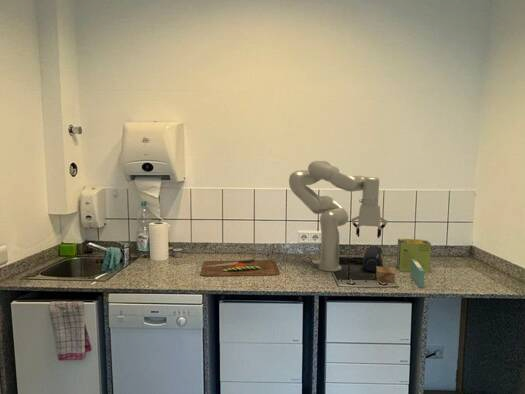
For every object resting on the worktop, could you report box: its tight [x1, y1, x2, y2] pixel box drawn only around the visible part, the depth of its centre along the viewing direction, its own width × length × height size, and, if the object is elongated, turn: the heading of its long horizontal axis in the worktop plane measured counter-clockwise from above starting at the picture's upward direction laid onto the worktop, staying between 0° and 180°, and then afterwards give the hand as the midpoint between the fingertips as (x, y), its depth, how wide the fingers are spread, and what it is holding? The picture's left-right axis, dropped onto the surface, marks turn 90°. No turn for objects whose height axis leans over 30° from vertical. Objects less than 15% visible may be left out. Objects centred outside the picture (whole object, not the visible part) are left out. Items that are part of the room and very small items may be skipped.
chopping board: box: [195, 258, 285, 278], centre depth 211 cm, size 45×27×3 cm, turn 95°
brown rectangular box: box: [375, 266, 396, 284], centre depth 195 cm, size 8×10×5 cm
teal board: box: [410, 259, 425, 289], centre depth 193 cm, size 2×20×8 cm, turn 170°
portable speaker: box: [362, 245, 384, 272], centre depth 216 cm, size 25×10×10 cm, turn 161°
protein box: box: [396, 238, 432, 274], centre depth 212 cm, size 10×15×16 cm
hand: (368, 236), depth 196 cm, fingers open, 9 cm apart
